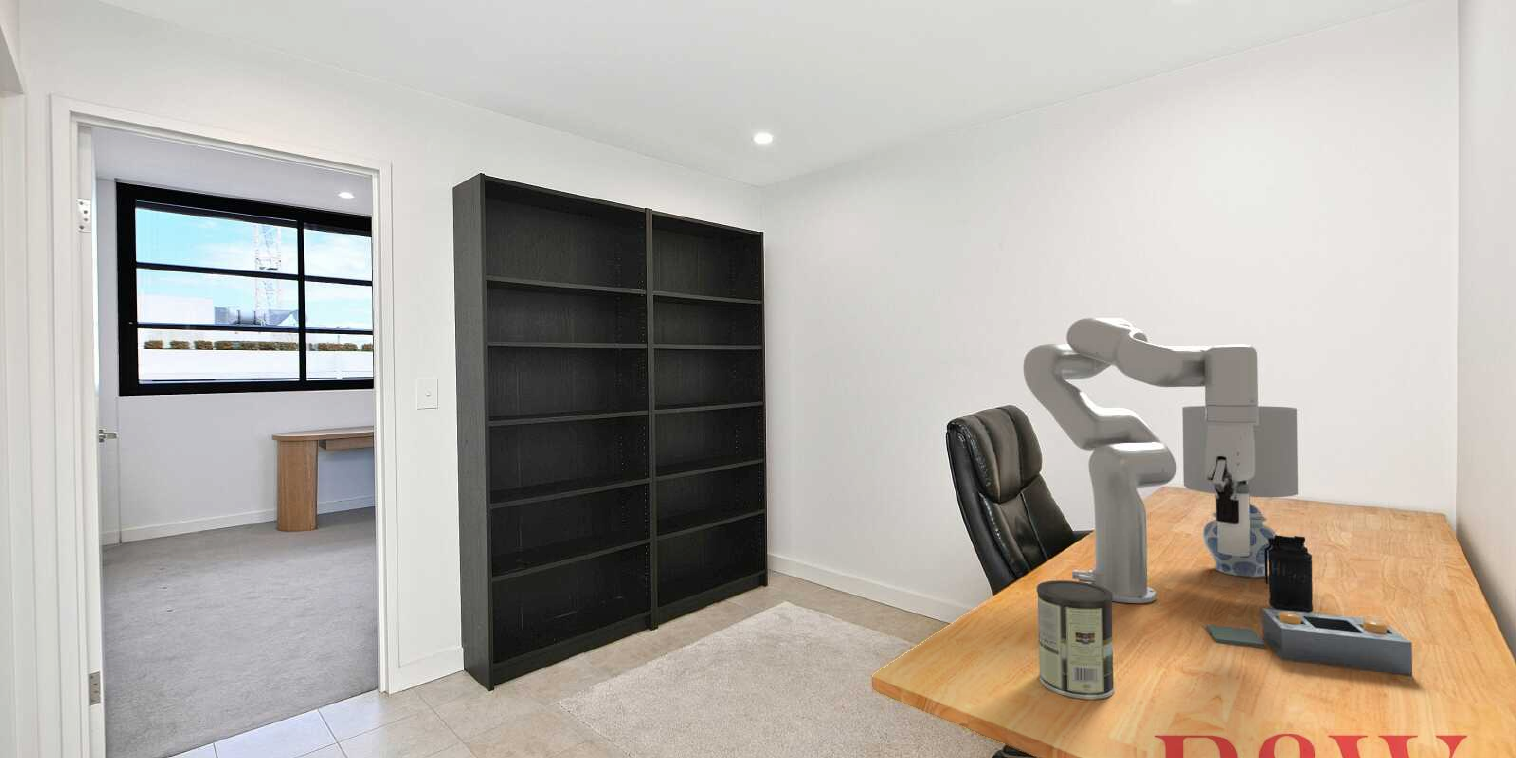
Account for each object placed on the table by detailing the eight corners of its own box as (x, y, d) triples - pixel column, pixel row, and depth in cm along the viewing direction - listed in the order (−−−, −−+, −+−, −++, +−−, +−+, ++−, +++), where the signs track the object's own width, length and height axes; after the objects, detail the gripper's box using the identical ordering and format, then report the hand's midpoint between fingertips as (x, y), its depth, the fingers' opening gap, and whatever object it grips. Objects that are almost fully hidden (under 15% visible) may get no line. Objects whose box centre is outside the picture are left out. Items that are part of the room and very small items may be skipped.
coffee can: (1077, 665, 105) (1076, 576, 105) (1131, 694, 95) (1129, 596, 95) (1023, 674, 102) (1021, 583, 102) (1072, 705, 92) (1070, 604, 92)
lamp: (1187, 554, 168) (1185, 405, 168) (1296, 567, 155) (1293, 406, 155) (1182, 575, 151) (1179, 409, 151) (1303, 592, 138) (1300, 410, 138)
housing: (1282, 659, 106) (1281, 628, 106) (1262, 636, 115) (1262, 608, 115) (1412, 675, 100) (1411, 642, 100) (1380, 650, 109) (1380, 620, 109)
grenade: (1306, 610, 127) (1305, 533, 127) (1318, 622, 121) (1317, 541, 121) (1261, 606, 130) (1259, 530, 130) (1270, 617, 124) (1269, 537, 124)
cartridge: (1212, 552, 116) (1211, 484, 116) (1222, 547, 118) (1221, 481, 119) (1245, 558, 112) (1244, 487, 112) (1255, 553, 115) (1253, 484, 115)
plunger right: (1368, 656, 105) (1367, 625, 105) (1360, 649, 107) (1359, 619, 107) (1390, 659, 104) (1390, 627, 104) (1382, 652, 106) (1381, 621, 106)
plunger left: (1282, 646, 109) (1282, 616, 109) (1277, 640, 112) (1276, 611, 112) (1303, 649, 108) (1303, 618, 108) (1297, 642, 110) (1297, 613, 110)
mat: (1215, 642, 113) (1215, 638, 113) (1206, 627, 120) (1206, 624, 120) (1265, 648, 111) (1265, 644, 111) (1253, 632, 117) (1252, 629, 117)
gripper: (1224, 413, 123) (1226, 510, 123) (1187, 417, 113) (1189, 523, 113) (1273, 414, 117) (1275, 517, 117) (1239, 419, 107) (1241, 531, 107)
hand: (1233, 519), depth 115 cm, fingers closed on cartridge, 4 cm apart
